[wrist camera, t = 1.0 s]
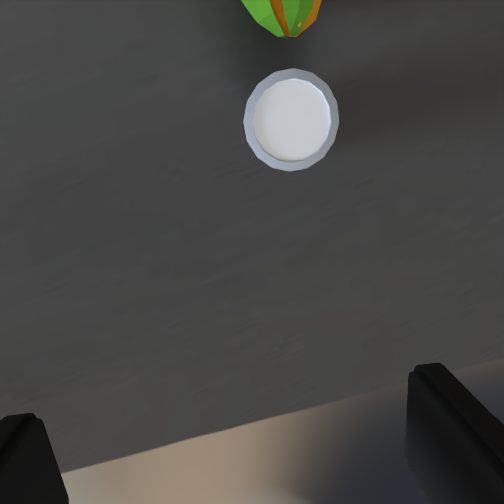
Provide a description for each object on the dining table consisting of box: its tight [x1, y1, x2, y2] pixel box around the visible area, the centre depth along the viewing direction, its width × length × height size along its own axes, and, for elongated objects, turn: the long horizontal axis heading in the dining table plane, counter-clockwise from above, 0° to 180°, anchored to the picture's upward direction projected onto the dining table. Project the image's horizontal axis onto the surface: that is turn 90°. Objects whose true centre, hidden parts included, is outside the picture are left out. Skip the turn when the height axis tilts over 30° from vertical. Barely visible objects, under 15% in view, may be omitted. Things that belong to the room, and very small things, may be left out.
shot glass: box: [244, 68, 339, 171], centre depth 28 cm, size 7×7×7 cm
